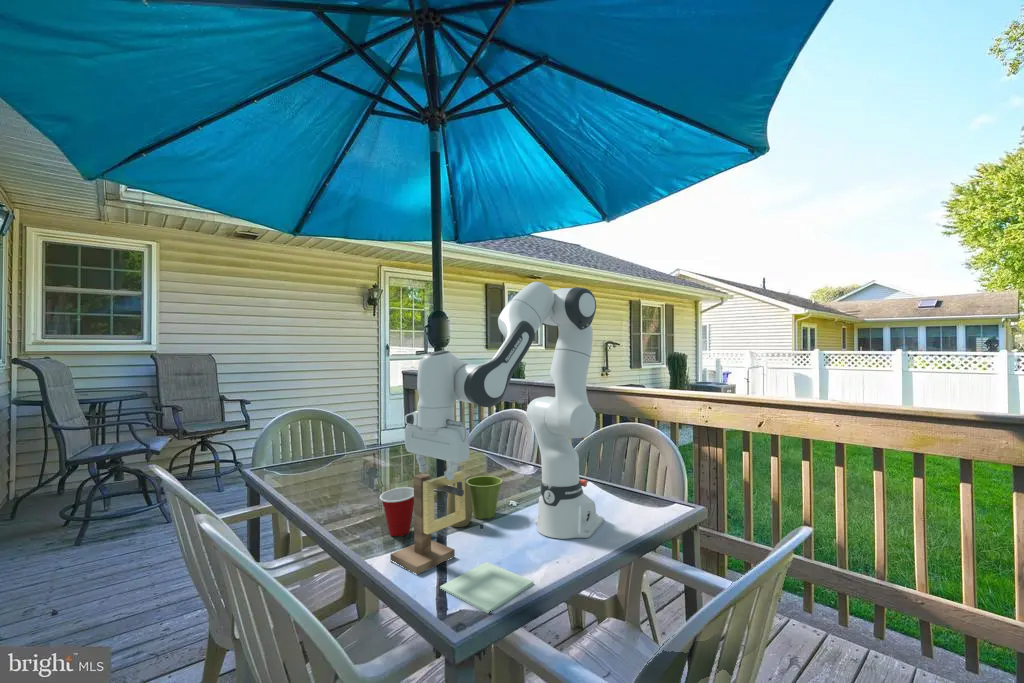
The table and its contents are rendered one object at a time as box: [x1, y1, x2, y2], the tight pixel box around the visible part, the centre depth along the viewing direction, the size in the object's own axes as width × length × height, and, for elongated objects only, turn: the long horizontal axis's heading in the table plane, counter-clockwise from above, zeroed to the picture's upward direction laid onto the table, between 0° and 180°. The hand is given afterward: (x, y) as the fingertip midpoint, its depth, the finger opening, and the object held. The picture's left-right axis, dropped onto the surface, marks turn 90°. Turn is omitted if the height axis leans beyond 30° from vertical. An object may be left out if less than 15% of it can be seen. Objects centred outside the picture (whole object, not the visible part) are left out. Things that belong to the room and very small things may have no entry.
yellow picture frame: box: [423, 470, 466, 535], centre depth 110 cm, size 12×2×12 cm, turn 139°
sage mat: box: [439, 561, 534, 614], centre depth 102 cm, size 15×15×1 cm
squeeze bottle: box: [446, 464, 473, 528], centre depth 138 cm, size 8×8×18 cm
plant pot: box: [466, 475, 503, 520], centre depth 145 cm, size 12×12×11 cm
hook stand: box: [390, 473, 464, 575], centre depth 112 cm, size 12×20×22 cm, turn 49°
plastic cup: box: [379, 486, 414, 537], centre depth 132 cm, size 11×11×12 cm
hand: (436, 475), depth 108 cm, fingers open, 8 cm apart
